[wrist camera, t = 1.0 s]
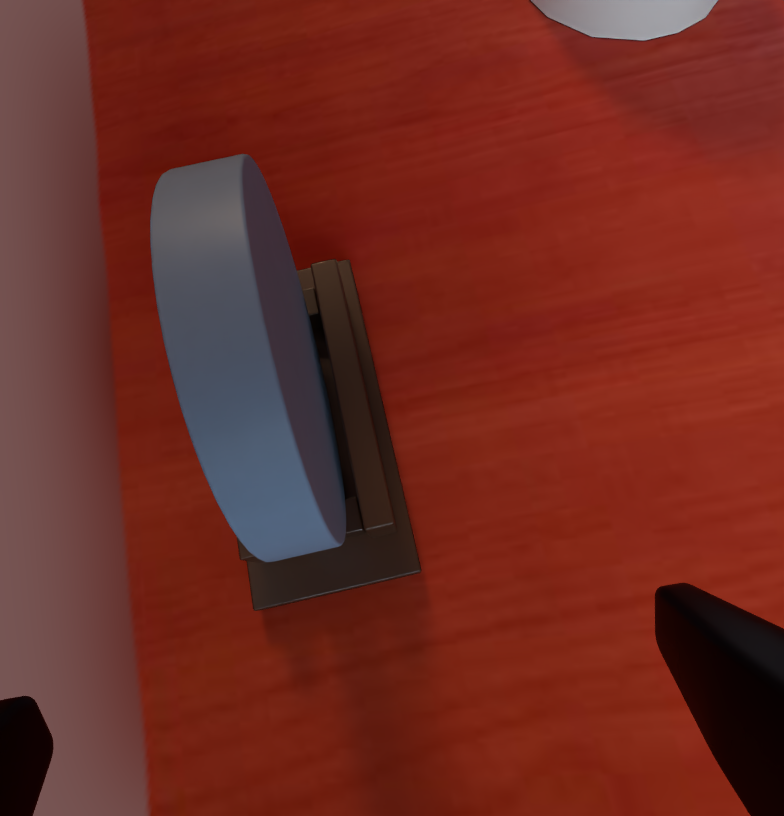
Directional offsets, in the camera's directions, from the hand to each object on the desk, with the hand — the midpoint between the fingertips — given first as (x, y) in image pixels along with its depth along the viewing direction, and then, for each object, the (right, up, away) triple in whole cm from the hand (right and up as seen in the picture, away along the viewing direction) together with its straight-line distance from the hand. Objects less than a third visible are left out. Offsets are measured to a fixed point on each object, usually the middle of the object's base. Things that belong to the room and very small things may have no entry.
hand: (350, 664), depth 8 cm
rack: (-3, +3, +15) cm, 15 cm away
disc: (-3, +5, +8) cm, 10 cm away
